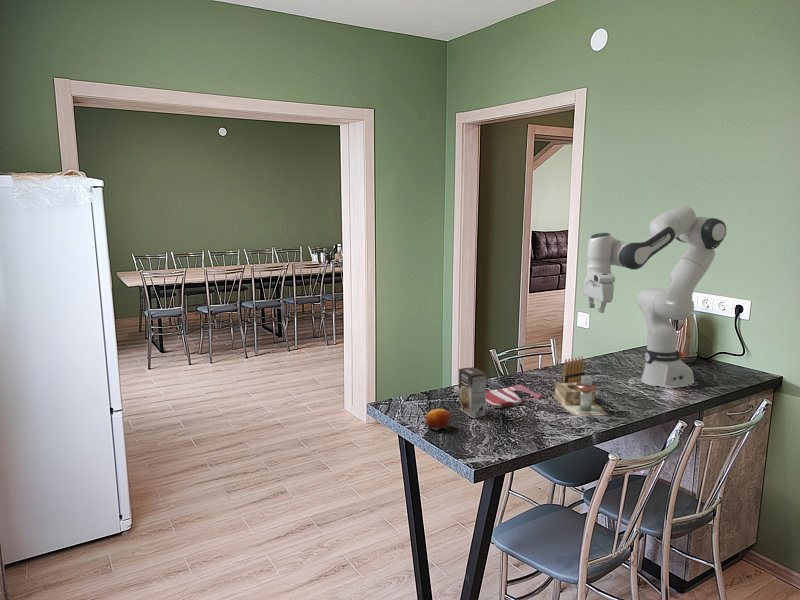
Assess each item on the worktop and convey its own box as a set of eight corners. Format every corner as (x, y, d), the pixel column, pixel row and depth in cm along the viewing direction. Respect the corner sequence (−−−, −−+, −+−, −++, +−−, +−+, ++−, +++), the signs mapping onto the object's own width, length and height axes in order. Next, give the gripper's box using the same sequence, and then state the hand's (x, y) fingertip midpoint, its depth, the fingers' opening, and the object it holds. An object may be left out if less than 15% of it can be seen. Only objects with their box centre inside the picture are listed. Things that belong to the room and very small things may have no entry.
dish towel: (545, 401, 229) (545, 394, 229) (494, 411, 219) (494, 404, 219) (518, 388, 244) (518, 382, 244) (470, 397, 234) (470, 391, 234)
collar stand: (584, 396, 233) (585, 381, 232) (608, 417, 211) (609, 400, 210) (552, 397, 232) (552, 382, 231) (572, 418, 210) (573, 402, 209)
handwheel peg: (572, 406, 219) (573, 374, 217) (591, 405, 219) (592, 373, 217) (579, 413, 212) (580, 380, 210) (598, 412, 212) (599, 379, 210)
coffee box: (457, 411, 218) (458, 368, 215) (472, 408, 221) (473, 366, 218) (470, 419, 210) (471, 375, 207) (486, 416, 213) (487, 373, 210)
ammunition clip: (580, 382, 250) (582, 355, 248) (584, 384, 248) (585, 356, 246) (561, 386, 245) (562, 358, 243) (564, 388, 244) (565, 359, 241)
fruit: (435, 432, 195) (429, 408, 198) (426, 436, 202) (421, 413, 205) (457, 428, 199) (451, 404, 201) (447, 432, 205) (441, 409, 208)
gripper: (580, 271, 241) (578, 305, 243) (600, 278, 221) (599, 315, 223) (595, 271, 242) (593, 305, 244) (617, 278, 221) (615, 315, 224)
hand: (596, 310), depth 233 cm, fingers open, 8 cm apart
